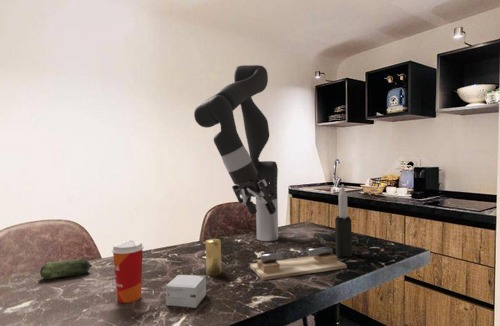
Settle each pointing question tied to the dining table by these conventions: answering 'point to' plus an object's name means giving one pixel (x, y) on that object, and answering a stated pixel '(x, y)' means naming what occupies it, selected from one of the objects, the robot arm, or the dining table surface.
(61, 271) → the vegetable
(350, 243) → the black and grey bottle
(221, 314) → the dining table surface
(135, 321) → the dining table surface
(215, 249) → the cylinder
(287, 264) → the shaft bench
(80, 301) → the dining table surface
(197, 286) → the small box
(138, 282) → the paper cup
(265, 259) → the shafts
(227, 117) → the robot arm
